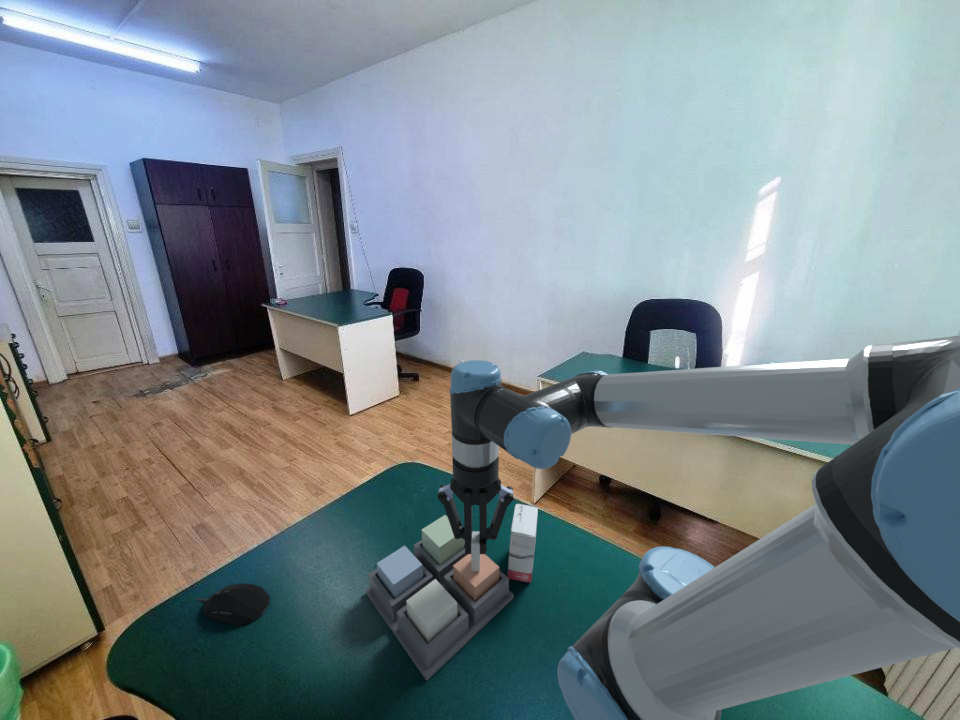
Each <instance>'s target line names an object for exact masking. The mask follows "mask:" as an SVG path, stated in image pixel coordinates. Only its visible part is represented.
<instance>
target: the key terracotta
mask: <svg viewBox="0 0 960 720" xmlns="http://www.w3.org/2000/svg"><path fill="white" fill-rule="evenodd" d="M499 570H500V566H499V565H498V564H497V563H495V562H494V560H492V559H491V558H490V557H489V556H488V555H487V554H480V572H476V571H471V554H468V555H466V556H465V557H464V558H462V559H461V560H460V561H458V562H457V563H456V564H454V565H453V579H454V582H455V583H456V584H457V585H458V586H459V587H460V588H461V589H462V590H463V591H464V592H465V593H466V594H467V595H468V596H469V597H470V598H471V599H472V600H473V601H474V602H476V601H478V600H479V599H480V598H481V597H482V596H483V595H484V594H486V593H487V592H488V591H489V590H490V589H491V588H492V587H494V586H495V585H496V584H497V583H498V582H499Z"/></svg>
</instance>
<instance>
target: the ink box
mask: <svg viewBox="0 0 960 720" xmlns="http://www.w3.org/2000/svg"><path fill="white" fill-rule="evenodd" d="M538 512H539V507H538V506H533V505H531V504H524V503H516V504H515V506H514V511H513V516H512V522H511V527H510V541H509V552H508V554H509V555H508V566H507V577H508V578H509V580H514V581H519V582H525V583H532V577H533V575H532V574H533V569H534V559H535V550H536V541H537V526H538V515H539V514H538Z"/></svg>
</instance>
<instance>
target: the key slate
mask: <svg viewBox="0 0 960 720" xmlns="http://www.w3.org/2000/svg"><path fill="white" fill-rule="evenodd" d="M408 549H409V548H408V547H407V546H406V545H403V546H401V547H400V548H399V549H397V550H395V551H394V552H392V553H391V554H388V555H387V556H386V557H384V558H383V559H381V560H379V561H378V562H376V569H378V577H379V581H380V582H381V584H382V585H383V586H384V588H385V589H386V590H387V592H388V593H389V594H390V596H391V597H392V598H393V600H395V599H396V598H397V597H399V596H400V595H402V594H403V593H404V592H406V591H407V590H408V589H410V588H411V587H412V586H414V585H415V584H417V583H418V582H419V581H421V580H422V579H423V566H422V564H421V563H420V561H419V560H418V559H417V558H416V557H415V556H414V553H413V552H412V551H410V549H409V550H408Z"/></svg>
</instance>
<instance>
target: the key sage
mask: <svg viewBox="0 0 960 720" xmlns="http://www.w3.org/2000/svg"><path fill="white" fill-rule="evenodd" d="M421 540H422V545H423V550H424V551H425V552H426V553H427V554H428V555H429V556H430V557H431V558H432V559H433V560H434V561H435V562H436V563H437V564H438V565H439V566H441V565H443V564H444V563H445V562H447V561H448V560H449V559H451V558H452V557H453V556H455V555H456V554H458V553H459V552H460V551H462V550H463V549H464V539H462V538H460V539H456V538H455V537H454V535H453V532H452V529H451V526H450V523H449V520H448V517H447V514H446V515H445V514H444V515H443V516H441V517H438V519H436V520H435V521H433V522H431V523H430V524H428V525H426V526H425V527H423V528H422V529H421Z"/></svg>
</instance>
